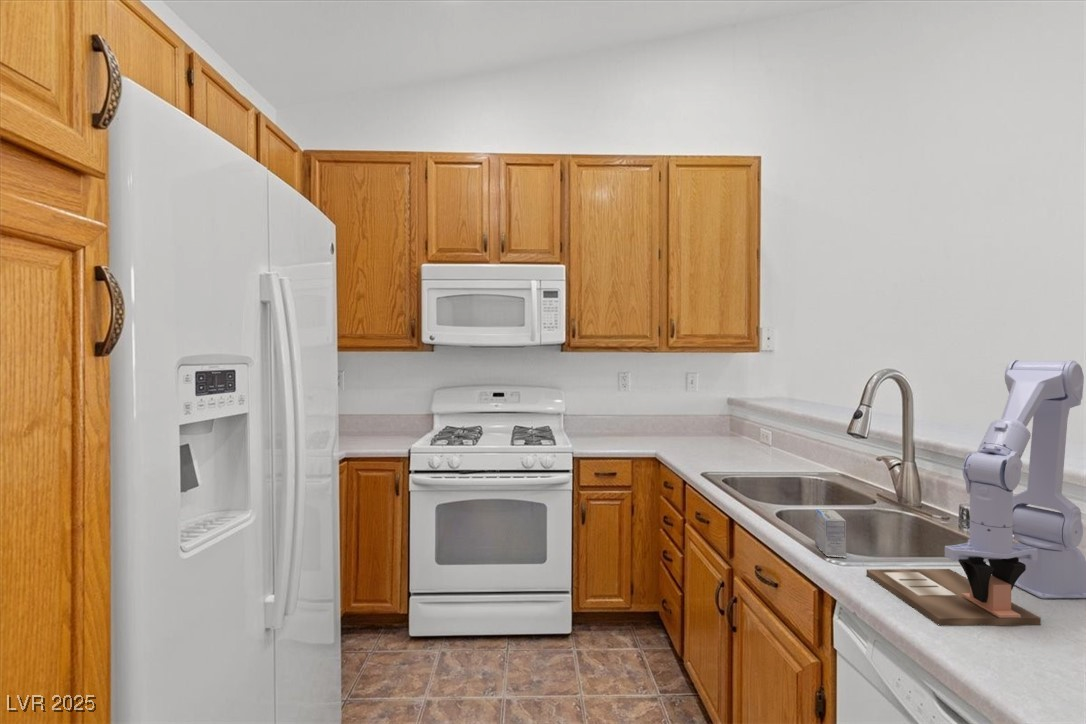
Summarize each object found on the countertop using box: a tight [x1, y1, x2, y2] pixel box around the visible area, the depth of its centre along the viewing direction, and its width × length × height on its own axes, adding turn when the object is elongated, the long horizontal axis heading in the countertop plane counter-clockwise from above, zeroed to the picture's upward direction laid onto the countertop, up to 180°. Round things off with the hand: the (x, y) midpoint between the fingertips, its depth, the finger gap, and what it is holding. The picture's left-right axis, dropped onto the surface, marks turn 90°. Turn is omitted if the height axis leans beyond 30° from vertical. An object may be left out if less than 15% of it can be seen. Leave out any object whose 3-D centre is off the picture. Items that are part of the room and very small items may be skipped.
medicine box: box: [814, 509, 847, 557], centre depth 122 cm, size 8×4×9 cm, turn 168°
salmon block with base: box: [961, 574, 1021, 618], centre depth 92 cm, size 4×8×5 cm, turn 0°
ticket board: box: [866, 568, 1042, 626], centre depth 99 cm, size 17×20×2 cm
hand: (990, 599), depth 92 cm, fingers closed on salmon block with base, 3 cm apart
